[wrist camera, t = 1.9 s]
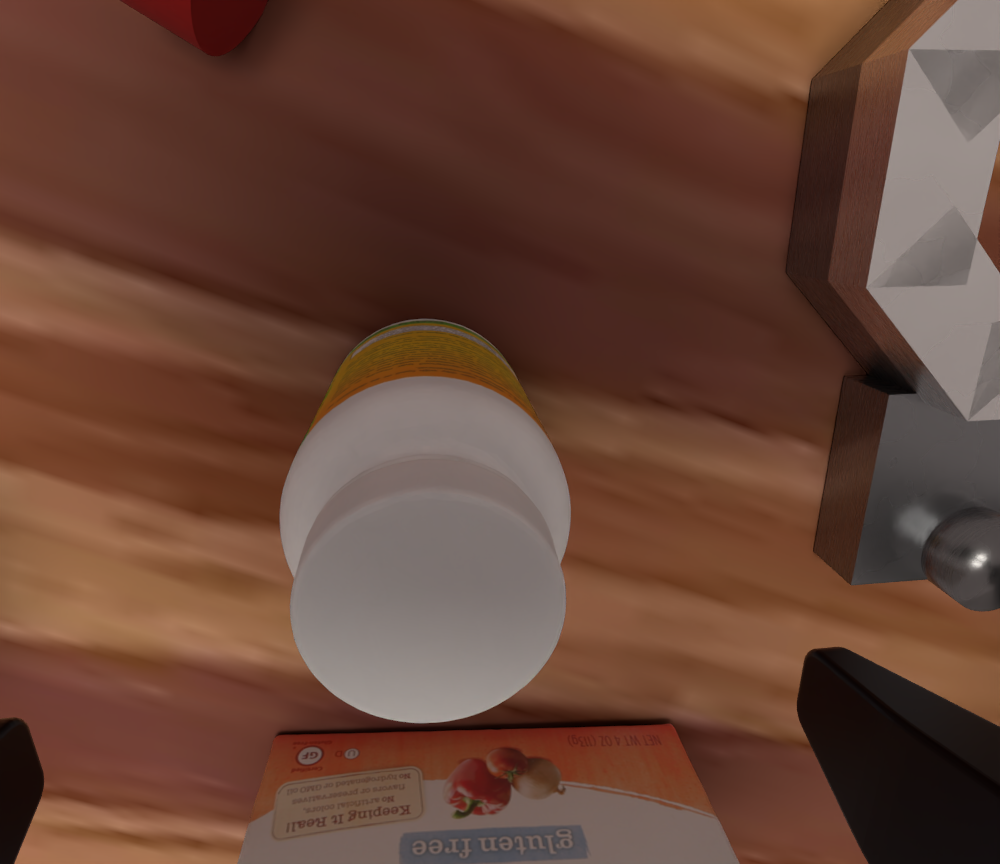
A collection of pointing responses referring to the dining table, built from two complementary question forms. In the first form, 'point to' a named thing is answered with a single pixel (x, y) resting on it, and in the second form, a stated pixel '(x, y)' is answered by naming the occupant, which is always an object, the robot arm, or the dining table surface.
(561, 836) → the cracker box
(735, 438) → the dining table surface
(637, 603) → the dining table surface
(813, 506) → the dining table surface
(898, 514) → the chain end lower
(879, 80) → the chain end upper
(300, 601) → the supplement bottle
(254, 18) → the mechanical linkage
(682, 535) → the dining table surface
